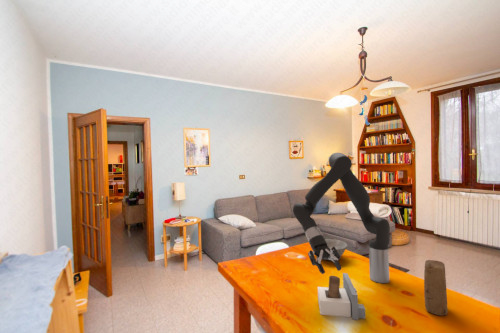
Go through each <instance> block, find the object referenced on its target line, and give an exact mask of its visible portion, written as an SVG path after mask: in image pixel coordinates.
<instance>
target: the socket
mask: <svg viewBox="0 0 500 333" xmlns="http://www.w3.org/2000/svg"><path fill="white" fill-rule="evenodd" d="M328 289H329V286H327V287H326V286H317V301H318V307H319V314H320V315H322V316H323V315H324V316H332V317H333V316H335V317H336V316H337V317H345V318H346V317H348V318H352V316H351V303H350V300H349V298H348V295H347V293H346V290H345V288H343V287H339V299H338V298H328Z"/></svg>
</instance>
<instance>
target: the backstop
mask: <svg viewBox="0 0 500 333" xmlns="http://www.w3.org/2000/svg"><path fill="white" fill-rule="evenodd" d="M342 280H343V284H342V285H343V286H342V288H345V290H346V293H347V295H348V298H349V300H350V303H351V319H352V320H353V321H359V319H366V307H365V306H364V304H362V303H361V304H360V303H358V302H359V300H358V299H359V298H358V292H357V289H356V287H355V286H354V284H353V283H352V280H351V278H350V277H349V274H348V272H347V273H346V272H342Z"/></svg>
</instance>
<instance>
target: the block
mask: <svg viewBox="0 0 500 333" xmlns="http://www.w3.org/2000/svg"><path fill="white" fill-rule="evenodd" d="M445 266H446V265H445V263H444V262H442V261H439V260H434V259H433V260H432V259H428V260H425V262H424V271H423V272H424V274H423V275H424V276H423V277H424V279H423V280H424V281H423V284H424V286H423V289H424V290H423V291H424V292H423V293H424V306H425V310H426V311H427V312H428V313H431V314H432V315H433V314H434V315H436V316H440V317H441V316H447V315H448V297H447V296H448V295H447V280H446V279H447V278H446V267H445Z"/></svg>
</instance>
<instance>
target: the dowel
mask: <svg viewBox="0 0 500 333" xmlns="http://www.w3.org/2000/svg"><path fill="white" fill-rule="evenodd" d="M328 278H329V279H328V287H329V289H328V298H338V299H339V288H340V285H341V284H340V283H341V279H340V277H338V276H336V275H330V276H329V277H328Z"/></svg>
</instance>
